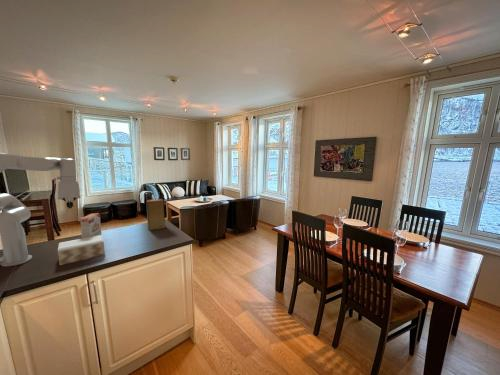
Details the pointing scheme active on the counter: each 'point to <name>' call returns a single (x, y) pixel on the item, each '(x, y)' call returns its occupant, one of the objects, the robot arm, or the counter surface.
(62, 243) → the lid
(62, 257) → the storage box
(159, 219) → the food packaging
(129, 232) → the counter surface
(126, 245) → the counter surface
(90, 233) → the cracker box
